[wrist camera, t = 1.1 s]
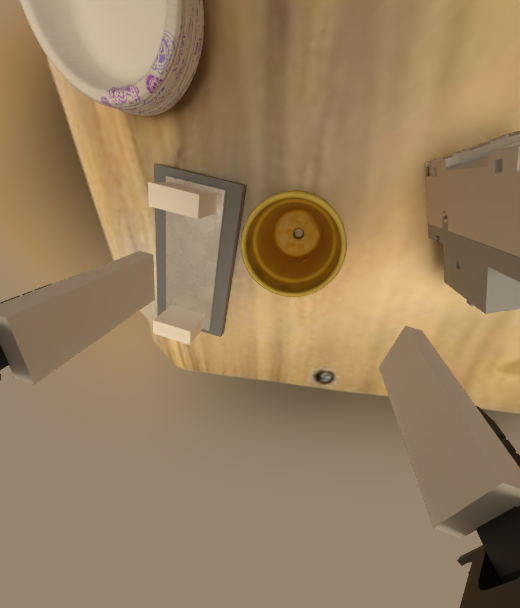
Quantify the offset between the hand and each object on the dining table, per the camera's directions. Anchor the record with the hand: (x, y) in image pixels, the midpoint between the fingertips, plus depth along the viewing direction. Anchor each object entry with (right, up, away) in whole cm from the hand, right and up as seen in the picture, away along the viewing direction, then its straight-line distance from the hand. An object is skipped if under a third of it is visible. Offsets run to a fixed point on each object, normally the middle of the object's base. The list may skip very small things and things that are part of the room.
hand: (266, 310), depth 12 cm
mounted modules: (-11, +6, +22) cm, 25 cm away
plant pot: (+5, +10, +19) cm, 22 cm away
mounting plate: (-10, +7, +24) cm, 27 cm away
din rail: (-11, +6, +23) cm, 26 cm away
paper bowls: (-12, +30, +13) cm, 34 cm away
